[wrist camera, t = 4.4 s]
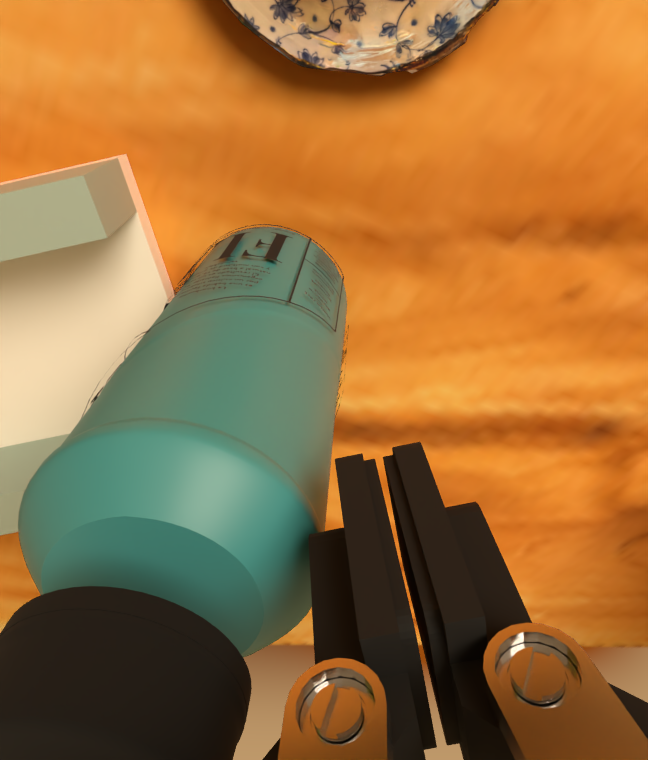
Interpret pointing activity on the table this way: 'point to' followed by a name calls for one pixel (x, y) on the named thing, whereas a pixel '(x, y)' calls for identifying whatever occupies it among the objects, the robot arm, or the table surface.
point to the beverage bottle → (180, 516)
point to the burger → (362, 31)
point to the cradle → (67, 305)
